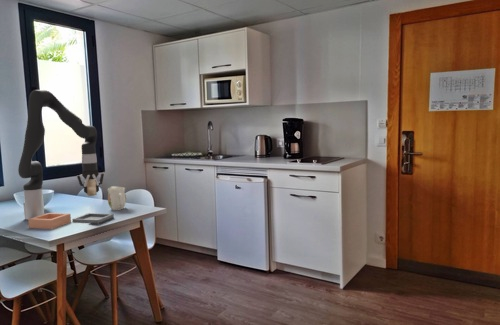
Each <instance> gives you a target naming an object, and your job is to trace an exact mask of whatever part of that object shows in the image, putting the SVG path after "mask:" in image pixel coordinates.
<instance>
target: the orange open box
mask: <svg viewBox="0 0 500 325" xmlns="http://www.w3.org/2000/svg"><path fill="white" fill-rule="evenodd" d="M71 218H72V217H71V213H65V212H64V213H63V212H61V213H60V212H58V213H57V212H46V213H44V214H43V215H40V216H37V217H34V218H31V219H28V220H27V221H28V228H29V229H47V230H53V229H55V228H58V227H61V226H64V225H66V224H69V223H71V222H72V220H71Z"/></svg>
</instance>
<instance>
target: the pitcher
mask: <svg viewBox="0 0 500 325" xmlns="http://www.w3.org/2000/svg"><path fill="white" fill-rule="evenodd" d="M107 192H108V195H107V203H108V206H109V208H110V210H112V211H121V209H122V210H124V207H125V205H126V202H127V196H126V195H127V194H126V187H123V186H117V185H112V186H110V187H108V188H107Z"/></svg>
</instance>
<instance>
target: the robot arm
mask: <svg viewBox="0 0 500 325" xmlns="http://www.w3.org/2000/svg"><path fill="white" fill-rule="evenodd" d="M46 107H47V108H49V109H51V110H52V111H54V112H55V113H56V114H57V116H58V117H59V119H60V120H61V122H63V123H64V124H65V125H66V126H67V127H69V128H71V129H72V131H73V132H74V133H75V134H76V135H77V136H78V137H79V138H81V139H84V143H82V144H81V167H82V173H81V174H79V175H76V179H77V181H78V184H79V186H80V187H83V193H85V194H87V187H86V185H87V183H88V181H87V180H88V179H96V180H95V182H96V192H97V193H99V192H100V185H102V184H103V180H104V175H105V174H104V173H101V172H99V171H98V159H97V150H96V143H97V139H98V131H97V129H96V127H95V126H93V125H85V124H84V123H83V120H82V118H80V117H79V116H77V115H76V114H75V113H73V112H72V111H70V110H69V108H67V107H66V106H65V105H64V104H63V103H62V102H61V101H60V100H59V99H58V98H57V97H56V96H55V95H54V94H53V93H52V92H51V91H49V90H48V89H33V90H32V91H31V92H30V93H29V96H28V112H27V113H28V114H27V121H26V122H27V123H26V128H25V134H24V141H23V142H24V143H23V148H22V152H21V157H20V160H19V164H18V167H17V168H18V169H17V170H18V175H19V177H20V178H21V179H30V180H29V181H28V182H27V183H25V184H24V185H23V197H24V202H23V215H24V220H27V221H28V219H31V218H34V217H37V216H40V215H43V214H45V206H44V197H43V183H44V178H43V175H44V174H43V171H44V170H43V167H42V166H43V165H42V164H41V162H39V161H37V160H33V158H34V156H35V154H36V152H37V151H38V150H39V149H40V147H41V146H42V145H43V143H44V140H45V134H46V129H45V126H44V123H43V120H42V110H43V108H46ZM98 176H99V181H98V179H97V178H98ZM82 178H83V179H84V182H83V181H82Z"/></svg>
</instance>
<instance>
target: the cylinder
mask: <svg viewBox="0 0 500 325" xmlns="http://www.w3.org/2000/svg"><path fill="white" fill-rule="evenodd" d="M96 179H97V178H96ZM96 179H88V180H87V181H88V183H87V185H86V187H87V193H86V197H93V196H97V195H98V194H97V193H98V192H96V182H95V180H96Z"/></svg>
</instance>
